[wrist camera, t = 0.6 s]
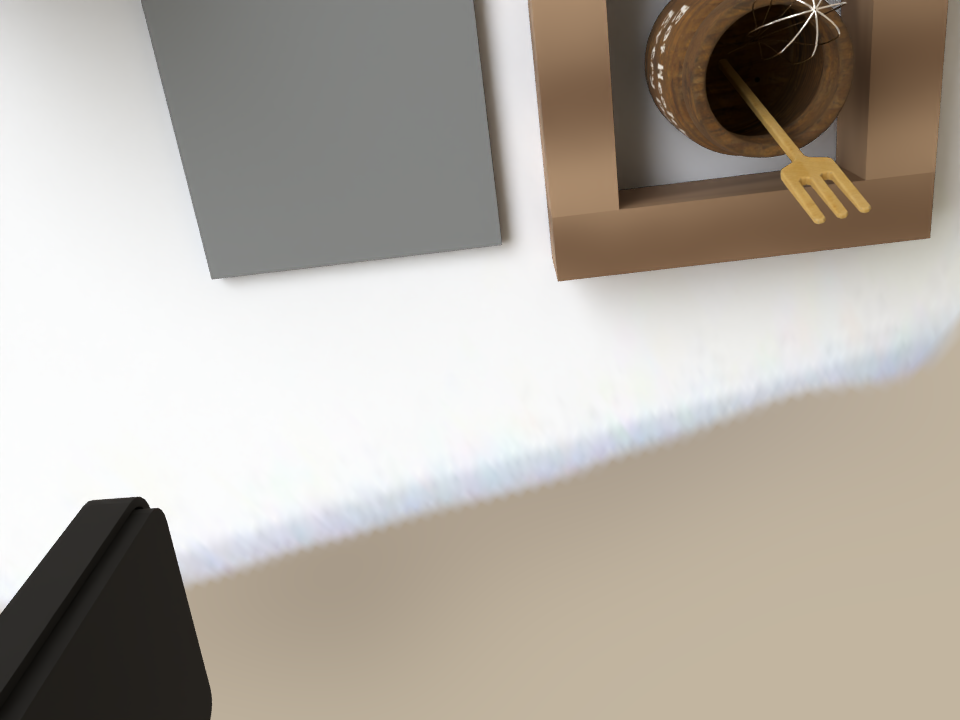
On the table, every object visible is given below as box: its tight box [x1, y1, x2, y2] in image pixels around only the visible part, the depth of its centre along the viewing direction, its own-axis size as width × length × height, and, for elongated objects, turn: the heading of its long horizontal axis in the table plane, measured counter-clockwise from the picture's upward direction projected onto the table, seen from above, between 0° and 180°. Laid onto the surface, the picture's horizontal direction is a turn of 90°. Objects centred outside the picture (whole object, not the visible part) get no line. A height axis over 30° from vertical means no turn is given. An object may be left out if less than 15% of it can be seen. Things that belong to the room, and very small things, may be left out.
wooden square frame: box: [528, 0, 948, 281], centre depth 33 cm, size 14×14×3 cm
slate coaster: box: [141, 0, 502, 279], centre depth 35 cm, size 12×12×1 cm
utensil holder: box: [645, 0, 871, 224], centre depth 29 cm, size 6×6×12 cm
